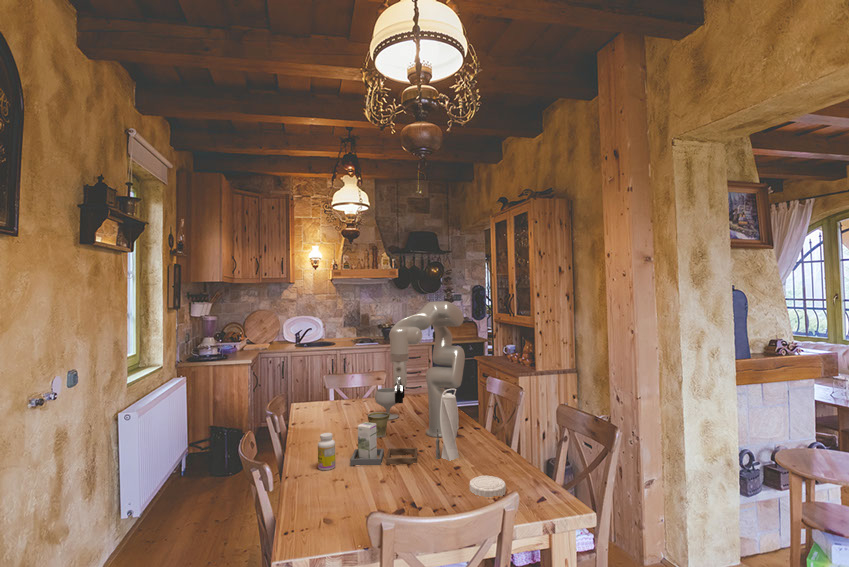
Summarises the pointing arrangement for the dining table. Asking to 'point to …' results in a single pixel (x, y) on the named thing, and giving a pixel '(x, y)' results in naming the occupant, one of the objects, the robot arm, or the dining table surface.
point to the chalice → (386, 400)
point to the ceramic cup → (379, 422)
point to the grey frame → (367, 459)
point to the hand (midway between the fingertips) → (399, 400)
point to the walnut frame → (401, 452)
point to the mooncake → (487, 486)
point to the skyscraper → (448, 427)
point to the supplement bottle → (326, 452)
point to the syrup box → (367, 440)
